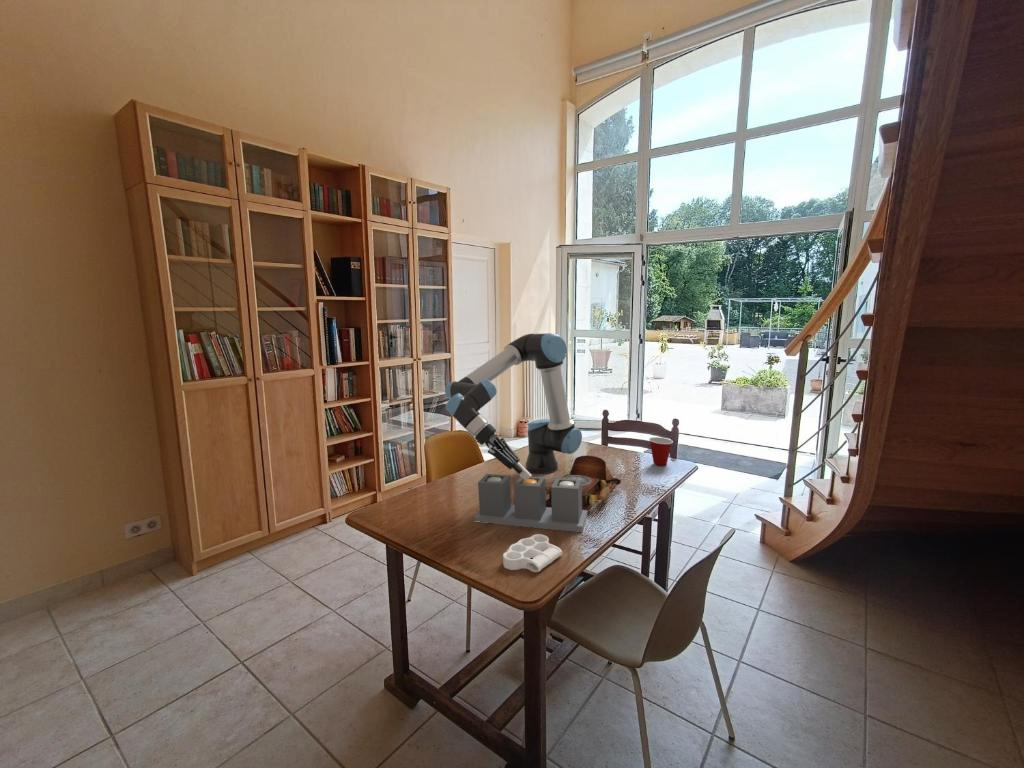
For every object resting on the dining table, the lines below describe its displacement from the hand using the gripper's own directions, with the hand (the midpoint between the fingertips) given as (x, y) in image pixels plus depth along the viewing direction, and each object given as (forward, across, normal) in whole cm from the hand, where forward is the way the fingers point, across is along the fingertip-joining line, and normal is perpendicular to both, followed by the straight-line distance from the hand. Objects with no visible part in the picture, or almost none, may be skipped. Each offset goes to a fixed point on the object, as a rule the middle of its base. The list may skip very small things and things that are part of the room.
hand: (528, 478), depth 160 cm
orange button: (+4, 0, -3) cm, 5 cm away
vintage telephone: (+22, -27, 0) cm, 35 cm away
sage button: (-5, 0, -13) cm, 14 cm away
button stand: (+11, 0, -10) cm, 15 cm away
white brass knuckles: (+16, +25, -6) cm, 30 cm away
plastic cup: (+43, -70, +22) cm, 85 cm away
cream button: (+13, 0, +6) cm, 14 cm away
